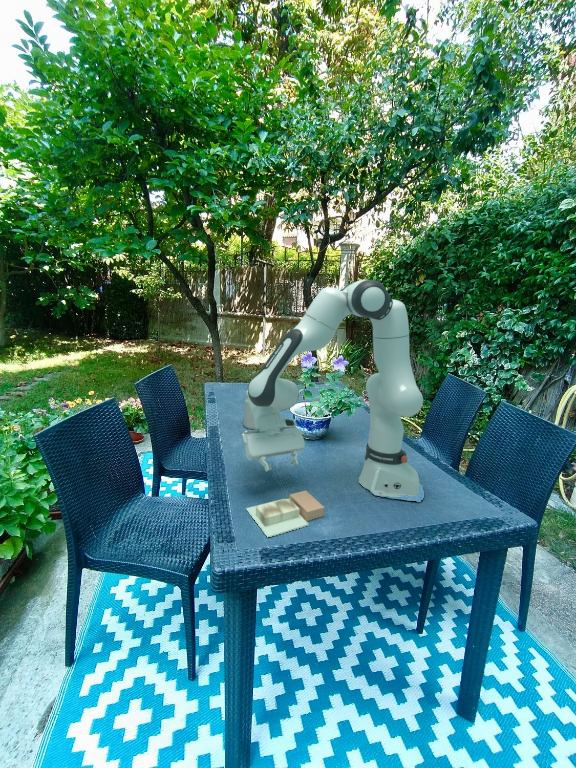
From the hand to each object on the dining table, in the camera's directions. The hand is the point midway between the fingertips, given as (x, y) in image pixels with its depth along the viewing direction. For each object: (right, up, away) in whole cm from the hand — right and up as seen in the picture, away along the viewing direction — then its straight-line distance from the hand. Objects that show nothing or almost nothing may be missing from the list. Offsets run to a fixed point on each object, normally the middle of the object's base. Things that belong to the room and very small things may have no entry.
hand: (282, 468), depth 110 cm
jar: (-15, +5, +61) cm, 63 cm away
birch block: (+4, -10, -6) cm, 12 cm away
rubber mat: (-2, -12, -8) cm, 15 cm away
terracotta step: (+7, -12, -3) cm, 14 cm away
